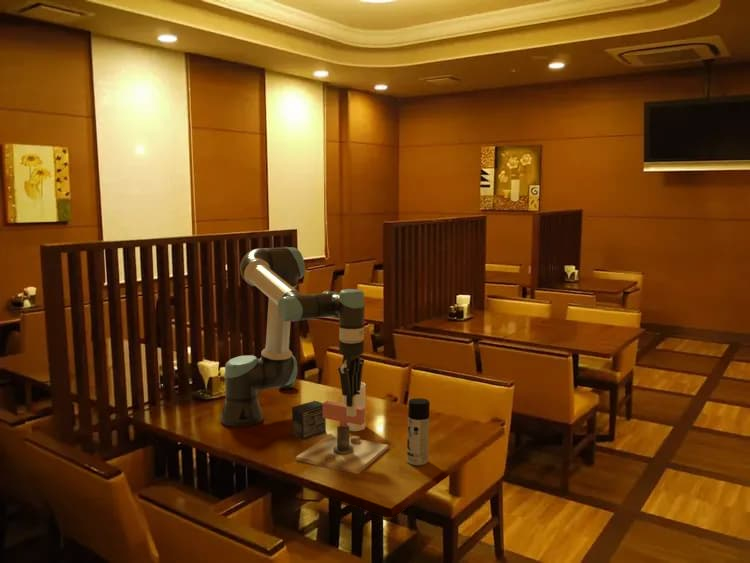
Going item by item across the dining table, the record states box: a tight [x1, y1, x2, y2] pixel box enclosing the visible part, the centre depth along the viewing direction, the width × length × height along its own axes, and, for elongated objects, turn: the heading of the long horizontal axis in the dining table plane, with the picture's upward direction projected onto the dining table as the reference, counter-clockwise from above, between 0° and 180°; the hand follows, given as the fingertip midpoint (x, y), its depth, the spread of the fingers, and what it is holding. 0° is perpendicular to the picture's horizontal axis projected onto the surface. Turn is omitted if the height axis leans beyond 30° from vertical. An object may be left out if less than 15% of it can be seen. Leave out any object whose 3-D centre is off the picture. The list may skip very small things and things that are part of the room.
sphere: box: [280, 379, 296, 390], centre depth 274 cm, size 8×8×8 cm
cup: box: [342, 381, 367, 432], centre depth 230 cm, size 8×8×16 cm
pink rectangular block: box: [322, 400, 366, 428], centre depth 205 cm, size 14×3×7 cm, turn 65°
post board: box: [295, 424, 389, 475], centre depth 206 cm, size 22×22×9 cm
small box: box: [291, 400, 327, 441], centre depth 223 cm, size 11×6×10 cm, turn 134°
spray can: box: [406, 397, 430, 467], centre depth 201 cm, size 7×7×20 cm
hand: (351, 415), depth 196 cm, fingers closed
